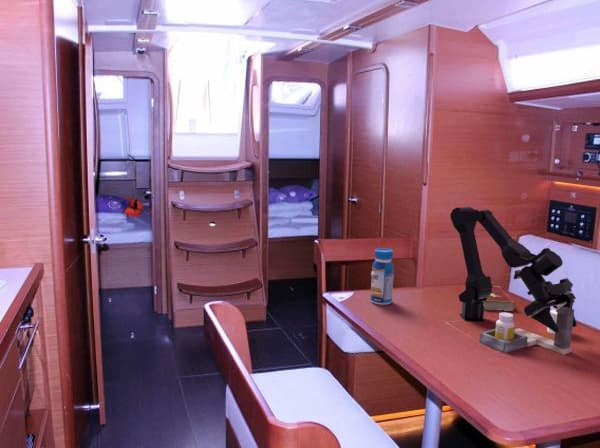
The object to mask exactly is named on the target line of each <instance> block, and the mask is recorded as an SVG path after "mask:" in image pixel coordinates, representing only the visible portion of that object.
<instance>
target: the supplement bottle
mask: <svg viewBox="0 0 600 448" xmlns="http://www.w3.org/2000/svg"><path fill="white" fill-rule="evenodd" d="M498 318H499V319H497V320H496V322H495V329H496V331H495V337H496V338H499V339H501V340H504V341H509V340H513V339H514V332H515V329H516V328H515V327H516V323H515V322H514V314H512V313H510V312H505V311H502V312H499V315H498Z"/></svg>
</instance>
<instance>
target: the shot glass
mask: <svg viewBox="0 0 600 448" xmlns="http://www.w3.org/2000/svg"><path fill="white" fill-rule="evenodd" d="M556 310H557V309H555V308H550V314H551V316H552V318H553V320H554V321H555V323H556V321H557V312H556ZM546 327H547V326H546ZM546 330H547V332H548V333H550V334H553V335H555V332H554V331H553V330H551V329H550V328H548V327H547V328H546Z"/></svg>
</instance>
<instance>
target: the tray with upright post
mask: <svg viewBox="0 0 600 448" xmlns="http://www.w3.org/2000/svg"><path fill="white" fill-rule="evenodd" d="M574 317H575V309H573V308H572V309H570V308H567V307H561V308H558V312H557V321H556V325H557V327H558V329H559V332H557V333H556V332H555V334H554V340H553V339H550V338H547V337H545V336H542V335H539V334H537V333H533V332H531V331H528V330H524V329H523V328H519V327H517V328H515V332H514V339H513V340H509V341H504V340H501V339H499V338H496V337H495V331H496V328H493V329H489V330H486V331H482V332H480V334H479V335H480V336H479V343H481V344H483V345H486V346H488V347H491V348H492V349H496V350H497V351H500V352H502V353H505V354H507V353H510V352H511V353H512V352H514V351H517V350H520V349H523V348H526V347H528V348H529V347H532V346H534V345H538V346H540V347H542V348H545V349H547V350H550V351H553V352H556V353H558V354H560V355H567V354H569V353H572V350H573V347H572V346H571V343H572V333H573V318H574Z"/></svg>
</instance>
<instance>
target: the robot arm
mask: <svg viewBox="0 0 600 448" xmlns="http://www.w3.org/2000/svg"><path fill="white" fill-rule="evenodd" d="M449 218H450V220H451V222H452V226H453V227H454V229H455V230H456V231H457V233H458V235H459V239H460V243H461V248H462V253H463V254H462V255H463V257H464V263H465V268H466V271H467V272H466V273H467V276H466V280H465V283H464V285H465V286H464V287H465V290H463V292H461V293H460V294H459V295H458V299H459V302H461V303H462V305H461V313H459V317H461V318H462V319H463V320H464V321H465V322H485V319H484V317H485V316H484V315H485V310H484V306H483V301H486V300H487V298H488V297H489V296H490V294H491V293H492V288H493V286H494V285H492V280H491V276H490V275H488V276H486V274H485V273H484V272H483V268H482V264H481V258H480V253H479V248H478V244H477V240H476V234H475V229H476V226H477V223H479V224H480V225H481V226H482V227H483V229H484V230H485V231H486V232H487V234H488V235H489V236H490V237H491V239H492V240H493V241H494V243H496V245H497V246H498V247H499V249H500V251H501V256H502V258H503V259H504V262H505V263H506V265H507V266H508V267H510V268H514V269H515V271H514V275H513V280H519V279H521V281H522V282H523V284H524V285H525V287H526V288H527V289H528V291H526V294H527V295H528V296H532V297H533V299H534V300H533V301H532V302H530V303H528V304H527V305H526V306H524V309H523V312H524V314H525V316H526V317H527V318H529V317H530V319H531V320H532V319H533V320H535V321H537V322H539V323H540V324H542V325H544V326H545V327H548V328H550V329H551V330H553V331H554V332H556V333H557V332H559V329H558V327H557V325H556V323H555V321H554V320H553V318H552V316H551V314H550V309H551V307H552V308H553V309H557V310H556V312H558V308H561V307H567V308H570V309H573V306H574V303H575V300H576V299H577V297H576V296H575V295H574V293H573V290H572V288H573V287H574V284H573V283H572V282H571V280H570V279H569V278H568V277H566V278H562V279H559V282H558V283H555V284H554V283H552V281H550V280H548V281H547V280H546V279H545V277H548V276H550V275H551V274H552V273H554V272H555V271H556V270H558V269H559V268H561V267H562V266H563V265H564V264H563V259H562V256H561V255H559V254H557V253H556V252H555V251H553V250H551V249H550V248H549V247H545V248H543V249H542V250H541V251H540V252H538V254H535V253H532V252H531V251H530V250H529V249H528V248H527V247H525V246H524V245H523V244H521V243H520V242H518V241H516V240H515V239H514V238H513V237H512V236H511V235H510V233H508V231H507V230H506V229H505V228H504V227H503V225H502V224H501V223H500V222H499V221H498V219H497V218H496V217H495V216H494V215H493V213H492V211H491V210H489V209H474V208H473V207H471V206H460V207H454V208H453V209H452V210H451V212H450V217H449ZM528 265H530V266H528ZM522 267H523V268H522ZM516 268H517V269H518V268H521V269H518V270H517V269H516ZM577 326H578V324H577V321H576V316H574V318H573V326H572V328H576V327H577Z"/></svg>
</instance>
